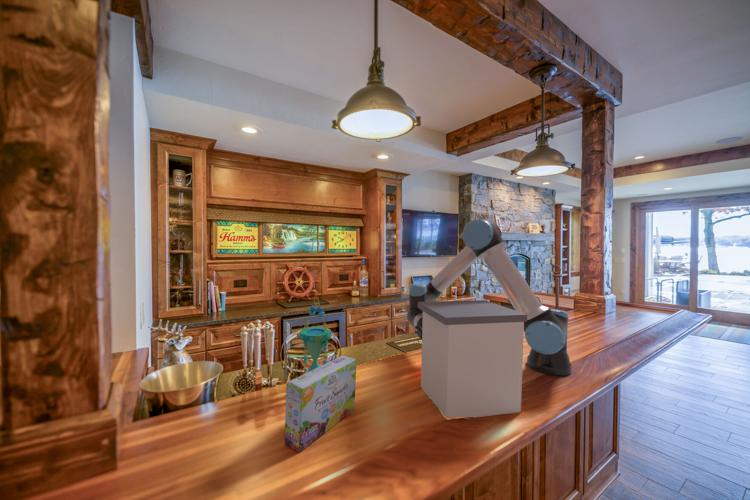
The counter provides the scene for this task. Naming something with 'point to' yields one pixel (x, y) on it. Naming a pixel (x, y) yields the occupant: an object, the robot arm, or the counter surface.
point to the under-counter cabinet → (472, 357)
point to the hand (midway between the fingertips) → (449, 342)
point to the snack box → (319, 401)
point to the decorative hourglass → (315, 339)
